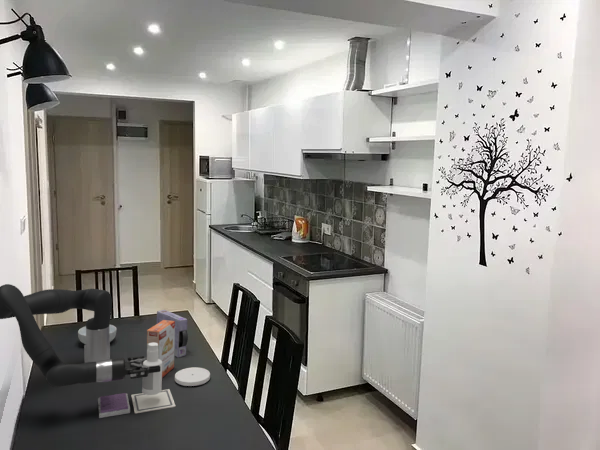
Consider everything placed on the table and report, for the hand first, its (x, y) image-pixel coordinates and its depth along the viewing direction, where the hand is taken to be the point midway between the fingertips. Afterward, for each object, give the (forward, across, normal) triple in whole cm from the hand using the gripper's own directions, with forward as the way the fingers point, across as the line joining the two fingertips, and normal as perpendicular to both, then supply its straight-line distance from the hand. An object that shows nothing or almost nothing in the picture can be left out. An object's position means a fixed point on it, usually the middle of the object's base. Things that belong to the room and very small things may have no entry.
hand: (158, 364), depth 177 cm
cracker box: (+4, +23, +14) cm, 27 cm away
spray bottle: (-2, 0, +10) cm, 10 cm away
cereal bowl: (-19, +66, +14) cm, 71 cm away
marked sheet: (-2, 0, +14) cm, 14 cm away
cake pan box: (+12, +46, +14) cm, 49 cm away
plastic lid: (+15, +13, +14) cm, 25 cm away
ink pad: (-15, 0, +14) cm, 21 cm away
